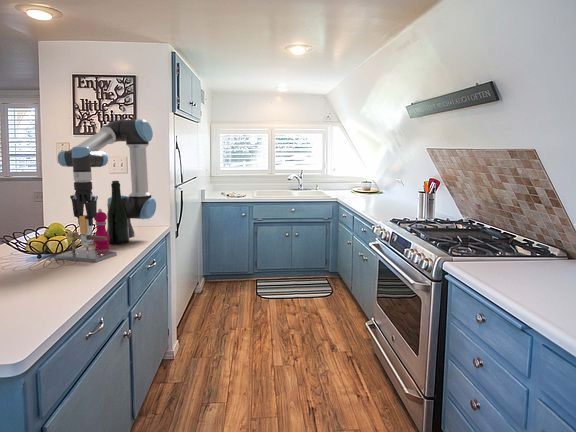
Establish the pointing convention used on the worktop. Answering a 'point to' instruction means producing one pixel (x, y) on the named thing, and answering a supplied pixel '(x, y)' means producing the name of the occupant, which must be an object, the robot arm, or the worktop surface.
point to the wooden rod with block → (75, 235)
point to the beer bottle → (117, 218)
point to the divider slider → (84, 232)
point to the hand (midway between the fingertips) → (86, 232)
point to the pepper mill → (101, 230)
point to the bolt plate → (86, 255)
